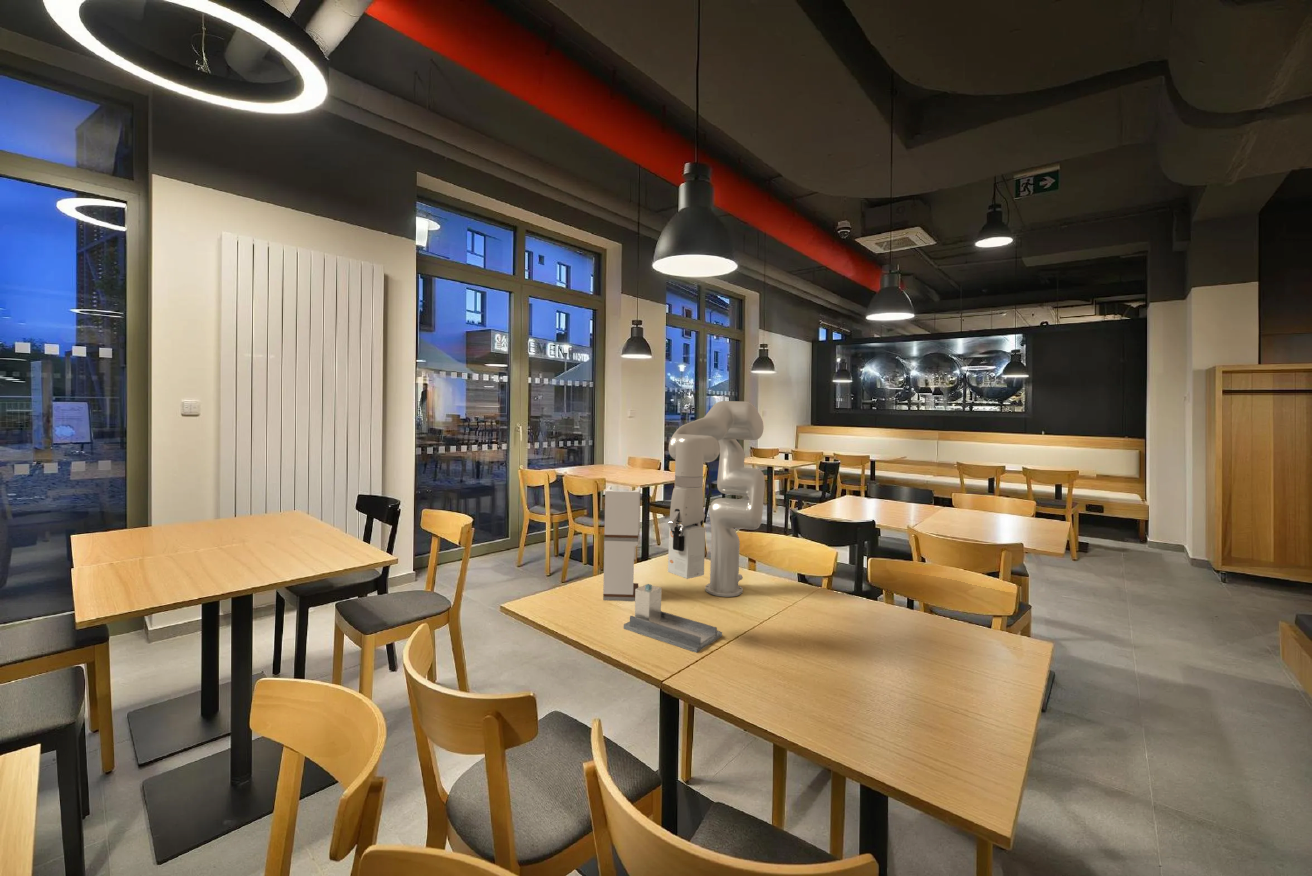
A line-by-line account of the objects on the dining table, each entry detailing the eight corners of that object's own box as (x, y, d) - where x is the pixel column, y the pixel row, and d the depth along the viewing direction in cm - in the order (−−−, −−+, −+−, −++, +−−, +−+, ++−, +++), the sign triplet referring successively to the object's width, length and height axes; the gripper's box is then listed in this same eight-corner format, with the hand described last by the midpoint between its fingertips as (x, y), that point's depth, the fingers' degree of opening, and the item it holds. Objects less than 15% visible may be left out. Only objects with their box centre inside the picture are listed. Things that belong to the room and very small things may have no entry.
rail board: (651, 615, 167) (652, 577, 166) (721, 636, 152) (723, 594, 152) (623, 628, 156) (624, 588, 155) (696, 652, 142) (697, 608, 141)
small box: (704, 575, 151) (706, 527, 150) (687, 579, 147) (688, 530, 146) (684, 568, 157) (685, 522, 156) (667, 572, 153) (668, 524, 152)
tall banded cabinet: (636, 601, 178) (639, 492, 176) (603, 600, 178) (605, 491, 176) (638, 589, 189) (640, 486, 187) (606, 588, 190) (608, 485, 187)
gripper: (694, 478, 160) (692, 539, 161) (658, 483, 146) (656, 551, 147) (717, 481, 155) (715, 544, 156) (682, 486, 141) (680, 556, 142)
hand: (686, 547), depth 151 cm, fingers closed on small box, 7 cm apart
